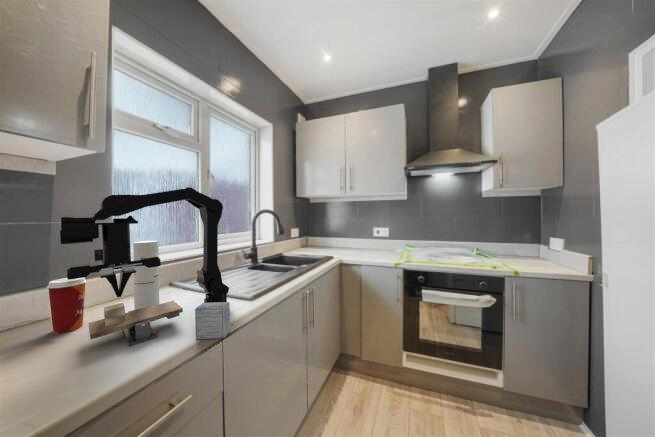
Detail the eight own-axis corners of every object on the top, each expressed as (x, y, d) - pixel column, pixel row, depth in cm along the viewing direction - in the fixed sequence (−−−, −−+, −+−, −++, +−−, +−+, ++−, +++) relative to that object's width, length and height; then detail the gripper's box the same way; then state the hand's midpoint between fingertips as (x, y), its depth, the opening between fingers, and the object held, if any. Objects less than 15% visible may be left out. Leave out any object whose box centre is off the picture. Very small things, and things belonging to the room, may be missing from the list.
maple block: (123, 316, 67) (122, 302, 67) (125, 320, 65) (124, 306, 64) (104, 321, 64) (103, 307, 64) (105, 326, 62) (104, 311, 62)
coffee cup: (91, 326, 73) (90, 278, 73) (51, 338, 66) (50, 284, 66) (82, 320, 77) (82, 274, 77) (44, 331, 70) (43, 280, 70)
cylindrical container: (164, 307, 87) (163, 240, 87) (147, 315, 80) (146, 242, 80) (146, 307, 88) (145, 240, 88) (128, 315, 81) (127, 242, 81)
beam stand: (146, 321, 75) (146, 306, 75) (157, 337, 65) (157, 320, 65) (121, 328, 71) (121, 312, 71) (129, 346, 61) (129, 328, 61)
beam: (173, 308, 79) (173, 300, 79) (183, 316, 72) (182, 308, 72) (89, 332, 64) (88, 322, 64) (90, 345, 57) (90, 334, 57)
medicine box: (230, 331, 68) (230, 301, 68) (224, 339, 64) (223, 307, 64) (203, 332, 68) (202, 302, 68) (195, 340, 64) (194, 308, 64)
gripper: (151, 236, 77) (153, 283, 77) (67, 242, 63) (69, 299, 64) (160, 238, 69) (162, 290, 70) (65, 245, 56) (68, 310, 56)
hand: (119, 296), depth 65 cm, fingers closed
